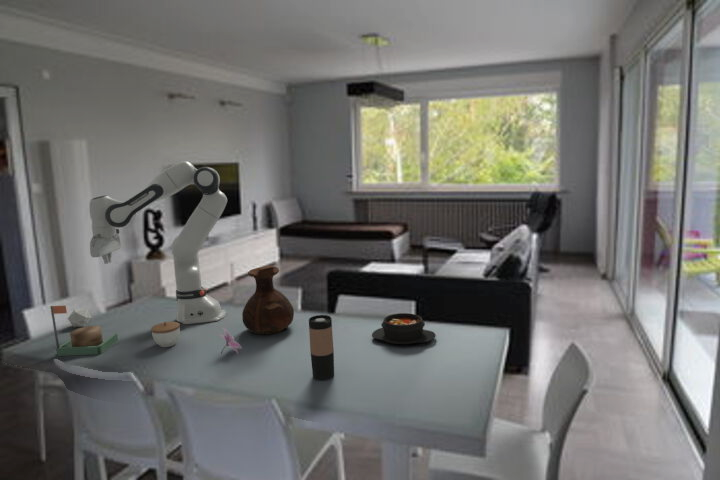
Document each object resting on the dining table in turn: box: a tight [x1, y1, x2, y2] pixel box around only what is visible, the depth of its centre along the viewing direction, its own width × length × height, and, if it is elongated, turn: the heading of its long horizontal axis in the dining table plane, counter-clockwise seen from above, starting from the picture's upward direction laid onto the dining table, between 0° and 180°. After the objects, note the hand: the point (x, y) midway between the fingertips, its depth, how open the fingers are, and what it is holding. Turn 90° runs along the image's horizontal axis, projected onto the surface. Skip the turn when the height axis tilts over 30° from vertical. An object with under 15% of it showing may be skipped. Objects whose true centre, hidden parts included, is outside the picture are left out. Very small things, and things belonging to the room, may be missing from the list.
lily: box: [220, 327, 243, 355], centre depth 192 cm, size 11×11×9 cm
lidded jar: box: [150, 321, 181, 348], centre depth 203 cm, size 11×11×9 cm
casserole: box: [371, 312, 437, 345], centre depth 197 cm, size 25×19×8 cm
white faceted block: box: [67, 308, 92, 328], centre depth 231 cm, size 8×9×10 cm
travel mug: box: [308, 314, 335, 382], centre depth 166 cm, size 8×8×20 cm
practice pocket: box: [49, 305, 119, 357], centre depth 202 cm, size 17×14×20 cm
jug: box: [241, 265, 295, 335], centre depth 212 cm, size 22×22×30 cm
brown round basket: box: [69, 325, 104, 347], centre depth 203 cm, size 11×11×8 cm
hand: (107, 263), depth 226 cm, fingers closed
